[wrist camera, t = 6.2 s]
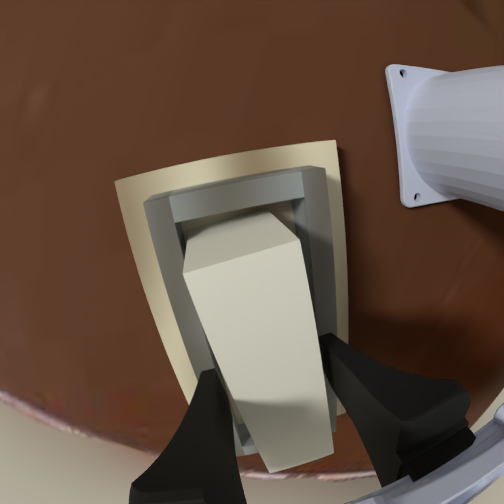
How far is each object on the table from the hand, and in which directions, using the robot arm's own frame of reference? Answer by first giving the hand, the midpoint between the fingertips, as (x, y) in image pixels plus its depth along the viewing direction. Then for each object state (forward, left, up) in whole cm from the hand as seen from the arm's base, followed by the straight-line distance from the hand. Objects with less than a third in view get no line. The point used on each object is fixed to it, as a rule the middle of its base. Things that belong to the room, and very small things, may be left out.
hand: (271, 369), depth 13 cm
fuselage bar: (0, 0, -3) cm, 3 cm away
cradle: (0, 0, -4) cm, 4 cm away
